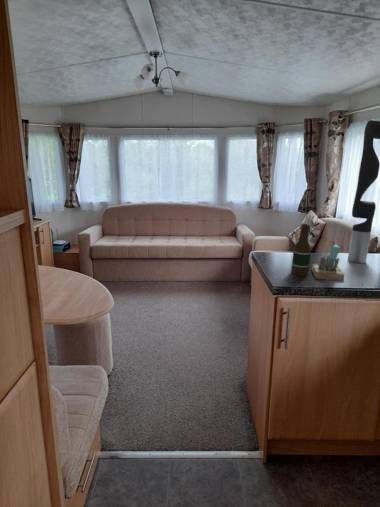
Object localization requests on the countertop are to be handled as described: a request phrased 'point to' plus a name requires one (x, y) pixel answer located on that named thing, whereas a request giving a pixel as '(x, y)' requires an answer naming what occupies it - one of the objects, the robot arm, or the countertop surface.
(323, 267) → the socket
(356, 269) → the countertop surface
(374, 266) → the countertop surface
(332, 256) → the peg
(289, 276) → the countertop surface
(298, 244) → the beer bottle
